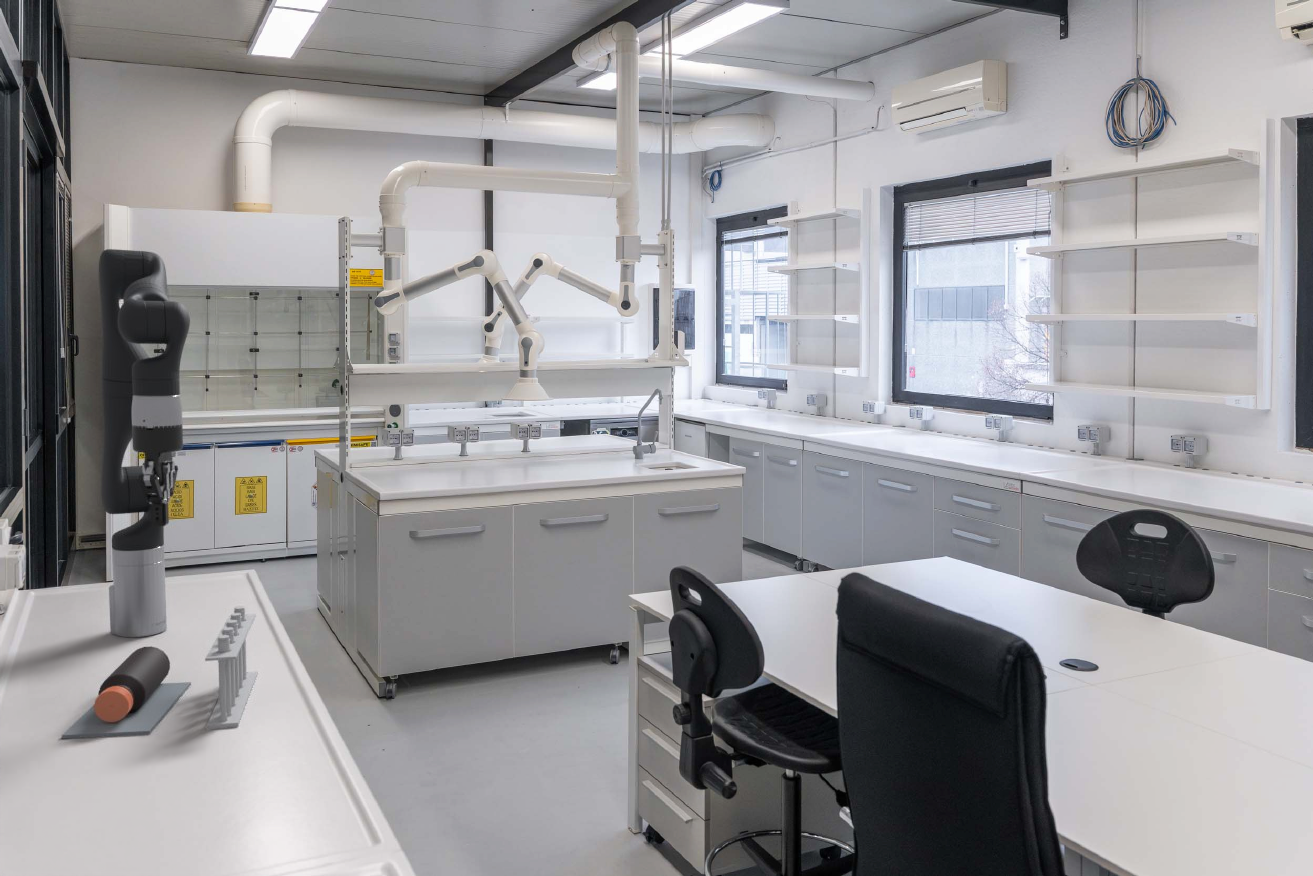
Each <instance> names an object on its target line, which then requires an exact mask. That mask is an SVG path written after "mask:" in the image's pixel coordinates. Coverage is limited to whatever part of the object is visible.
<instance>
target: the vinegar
mask: <svg viewBox="0 0 1313 876" xmlns="http://www.w3.org/2000/svg"><path fill="white" fill-rule="evenodd" d="M170 664H171V661H170V658H169V657H168V655H167V654H166V653H165V651H163V650H162V649H160V648H158V647H156V646H152V645H151V646H143V647H140V648H138V649H136V650H135V651H133V652H132V653H131V654H130V655H129V656H128V657H127V658H126V659H125V660H124V661H122V663H120V665H119V666H117V668H115V670H114V671H113V672H112V673H111V674H110V675H108V677H106V678H105V680H104V681H103V682H102V684H101V685H100V687H99V690H98V695H97V697H96V699H95V701H94V704H93V705H94V710H95V713H96V715H97V716H98V717H99V718H100V719H102V720H104V721H107V722H115V721H116V722H117V721H118V720H121V719H122V718H124V717H125V716H126V715H127V714H129V713H134V712H136V711H137V710H139V709H140V708H141V707H142V705H143V704H144V703H145V702H146V701H147V699H148V698H149V697H150V696H151V695H152V693H153V692H154V691H155V690H156V689H157V687H158V686H159V685H160V684H161V683H163V682H164V680H165V679H166V678H167V676H168V675H169V672H170V670H171V665H170Z"/></svg>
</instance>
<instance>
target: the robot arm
mask: <svg viewBox="0 0 1313 876" xmlns="http://www.w3.org/2000/svg"><path fill="white" fill-rule="evenodd" d="M99 256H100V257H99V260H98V284H99V285H98V286H99V298H100V299H99V300H100V311H101V313H100V314H101V326H102V327H101V330H102V351H101V353H102V357H101V358H102V359H101V399H102V401H101V402H102V421H103V422H102V424H103V425H102V426H103V443H102V444H103V445H102V460H101V461H102V463H101V476H100V477H101V479H100V480H101V481H100V492H101V493H100V495H101V504H102V508H103V510H104V511H105V512H106V514H109V515H125V514H137V513H143V515H142V517H141V518H140V519H138V521H136V522H135V523H133V524H131V525H130V526H127V527H125V528H123V529H120V530H118V531H116V532H115V533H113V535H112V537H111V555H112V556H111V557H112V580H113V584H112V585H109V587H108V603H109V631H110V634H112V635H113V634H114V635H115V636H117V637H123V638H141V637H146V636H152V635H153V636H154V635H156V634H161V633H163V632H165V631H166V630H167V629H168V627H167V626H168V625H167V598H166V592H167V590H166V569H165V568H166V567H165V543H164V542H165V538H164V537H165V535H164V534H165V532H164V530H165V529H164V528H165V527H166V526H167V525H168V524H169V520H170V519H169V517H170V515H169V513H170V512H169V503H170V502H171V497H172V498H173V496H174V491H175V486H176V482H177V477H178V471H179V467H178V465H175V464H176V463H175V461H174V460H173V456H172V454H173V452H174V453H175V452H180V451H181V450H183V448H184V437H183V436H184V435H183V407H182V401H181V390H180V386H181V385H180V369H181V361H182V360H181V359H182V355H183V351H184V347H185V344H186V340H187V337H188V335H189V334H188V333H189V330H190V325H191V317H190V316H191V315H190V313H189V311H188V309H187V308H186V306H185V305H183V304H182V303H181V302H178V301H171V300H170V299H169V297H168V282H167V281H168V279H167V270H166V265H165V262H164V260H163V258H162V257H161V255H159V253H158V254H157V253H155V252H152V251H145V250H130V249H129V250H128V249H115V248H109V249H107V248H106V249H105V250H103V251H102V252H101V253H100V255H99ZM121 300H123V302H122V305H121V306H120V301H121ZM144 344H145V345H148V344H149V345H165V349H164V351H163V352H162V353H161V354H159V355H156V356H153V357H150V355H148V353H147V352H146V350H145V349H144V347H143V346H142V345H144ZM131 441H132V450H133V451H134V452H136V453H143V454H144V460H143V461H144V462H142V465H132V466H123V461H124V457H125V455H126V451H127V449H128V446H129V444H130V443H131Z"/></svg>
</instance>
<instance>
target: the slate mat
mask: <svg viewBox="0 0 1313 876" xmlns="http://www.w3.org/2000/svg"><path fill="white" fill-rule="evenodd" d="M190 685H191V686H192V682H191V681H187V682H186V681H185V682H166V683H165V682H164V683H163V682H161V684H160V685H159V686H158V687H157V689H156V690H155V691H154V692H153V693H152V695H151V696H150V697H149V698H148V699H147V701H146V702H145V703H144V704H143V705H142V707H141V708H140V709H139V710H137V711H136V712H134V713H129V714H127V715H126V716H125V717H124V718H122V719H121V720H118V721H117V722H116V721H115V722H107V721H104V720H102V719H100V718H99V717H98V716H97V715H96V713H95V710H94V704H93V705H92V706H91V707H90V708H89V709H88V710H86V712H84V713H83V714H82V715H81V717H79V718H78V719H77V720H76V721H75V722H74V723H73V724H72V725H70V727H69V728H68V729H67V730H66V731H64V732H63V733H62V734H61V739H62V740H63V739H64V740H65V739H79V738H97V737H98V738H101V737H103V738H104V737H117V736H118V737H121V736H136V735H137V736H140V735H150V734H151V733H153V731H154V730H155V728H156V727H157V726H158V725H159V724H160V723H161V722H162V720H163V719H164V718H165V717H166V715H167V714H168V713H169V712H170V711H171V709H173V707H174V706H175V705H176V704H177V702H178V701H179V700H180V699H181V698H182V697H183V695H184V694H185V693H186V692H187V690H188V689H189V688H190V687H191V686H190ZM189 686H190V687H189ZM188 687H189V688H188ZM185 691H186V692H185ZM180 697H181V698H180ZM179 698H180V699H179Z"/></svg>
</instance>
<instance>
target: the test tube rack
mask: <svg viewBox="0 0 1313 876" xmlns="http://www.w3.org/2000/svg"><path fill="white" fill-rule="evenodd" d="M256 614H257V613H253V614H252V613H250V614H246V609H245V606H235V607H234V610H233V613H231V614H230V615H229V616H228V618H227V619H226V621H225V623H224V625H223V626H222V628H221V630H220V632H219V633H218V634H217V637H216V638H215V641H214V642H213V644H212V646H211V648H210V649H209V651H208V653H207V655H206V656H205V658H204V661H205V662H213V661H217V664H218V687H219V688H218V690H219V691H218V692H219V693H218V695H219V697H218V700H217V702H216V703H215V706H214V708H213V710H212V713H211V715H210V717H209V720H208V721H207V723H206V730H207V729H208V730H218V729H217V728H220V729H228V728H227V727H233V728H238V727H239V726H240V722H241V721H242V718H243V716H244V713H245V710H246V708H245V706H246V707H247V705H248V702H247V701H249V700H248V698H249V699H250V697H251V694H252V692H253V689H254V687H253V685H254V686H255V684H256V681H257V679H256V677H257V678H258V676H259V671H258V670H256V671H247V643H246V642H247V641H246V639H247V636H248V634H249V631H250V630H251V628H252V626H253V624H254V621H255V619H256V617H257V615H256ZM257 675H258V676H257ZM255 680H256V681H255ZM254 683H255V684H254ZM252 688H253V689H252ZM251 691H252V692H251ZM250 693H251V694H250ZM249 696H250V697H249ZM246 704H247V705H246ZM243 712H244V713H243ZM242 715H243V716H242ZM241 717H242V718H241ZM240 720H241V721H240Z"/></svg>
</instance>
